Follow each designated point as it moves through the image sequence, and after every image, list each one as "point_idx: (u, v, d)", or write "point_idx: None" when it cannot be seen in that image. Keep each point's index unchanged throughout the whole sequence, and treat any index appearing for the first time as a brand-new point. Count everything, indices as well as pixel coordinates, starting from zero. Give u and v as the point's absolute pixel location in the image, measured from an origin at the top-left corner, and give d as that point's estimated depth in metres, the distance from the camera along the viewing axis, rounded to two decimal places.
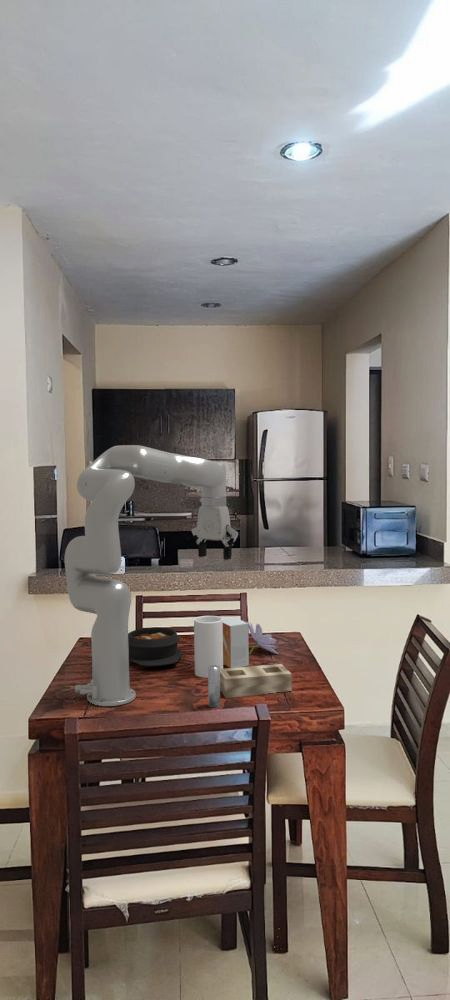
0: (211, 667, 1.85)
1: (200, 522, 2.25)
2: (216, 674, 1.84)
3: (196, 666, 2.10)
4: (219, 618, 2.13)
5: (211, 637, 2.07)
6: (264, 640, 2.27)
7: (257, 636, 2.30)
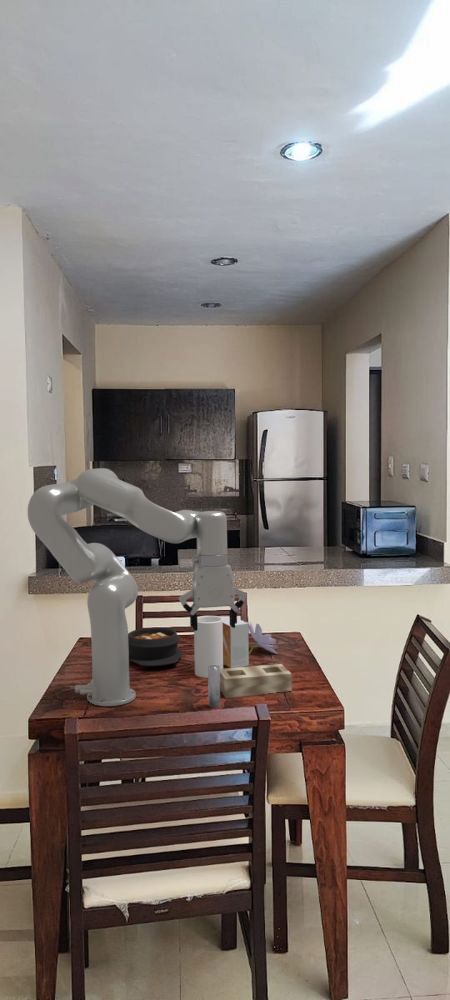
0: (211, 667, 1.85)
1: (202, 587, 1.80)
2: (216, 674, 1.84)
3: (196, 666, 2.10)
4: (219, 618, 2.13)
5: (211, 637, 2.07)
6: (263, 640, 2.27)
7: (257, 636, 2.30)
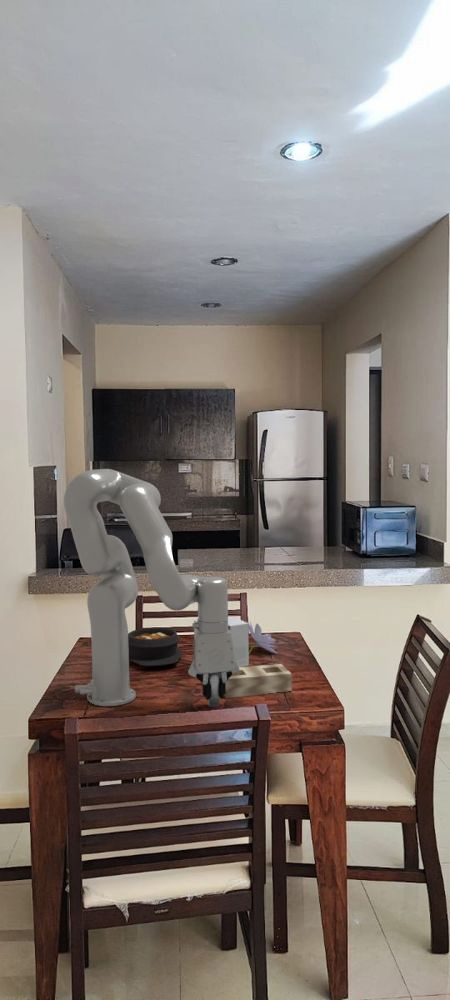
0: None
1: (202, 654, 1.82)
2: (216, 674, 1.84)
3: None
4: None
5: None
6: (263, 640, 2.27)
7: (256, 636, 2.30)
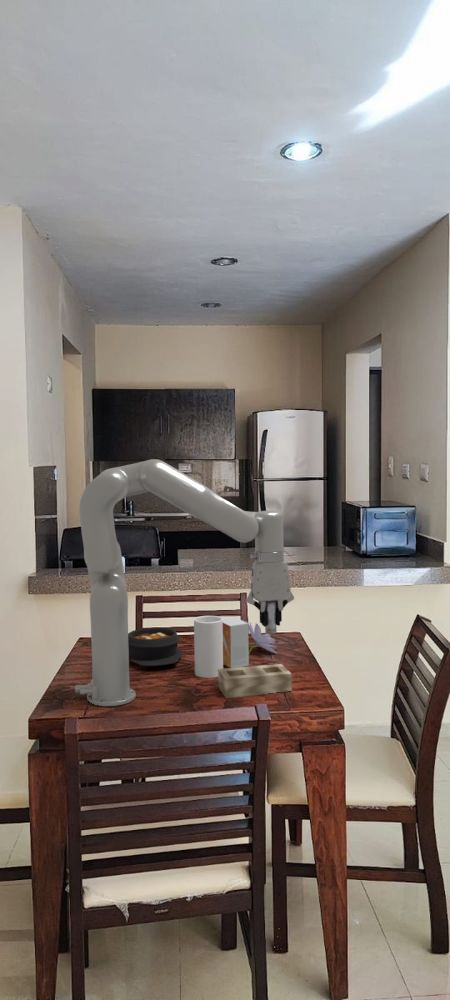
0: None
1: (260, 582, 1.93)
2: (272, 602, 1.95)
3: (196, 666, 2.10)
4: (219, 618, 2.13)
5: (211, 637, 2.07)
6: (262, 640, 2.28)
7: (256, 635, 2.30)
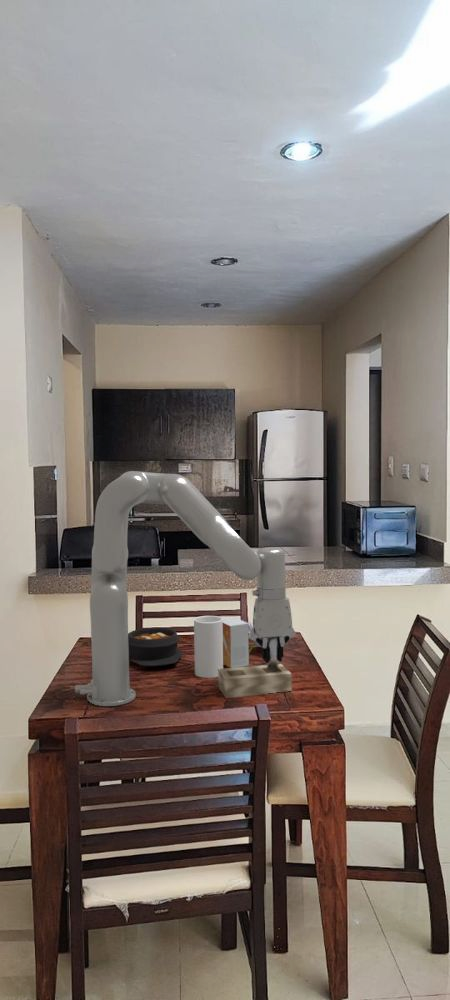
0: None
1: (262, 619, 1.94)
2: (274, 638, 1.96)
3: (196, 666, 2.10)
4: (219, 618, 2.13)
5: (211, 637, 2.07)
6: None
7: (256, 635, 2.30)
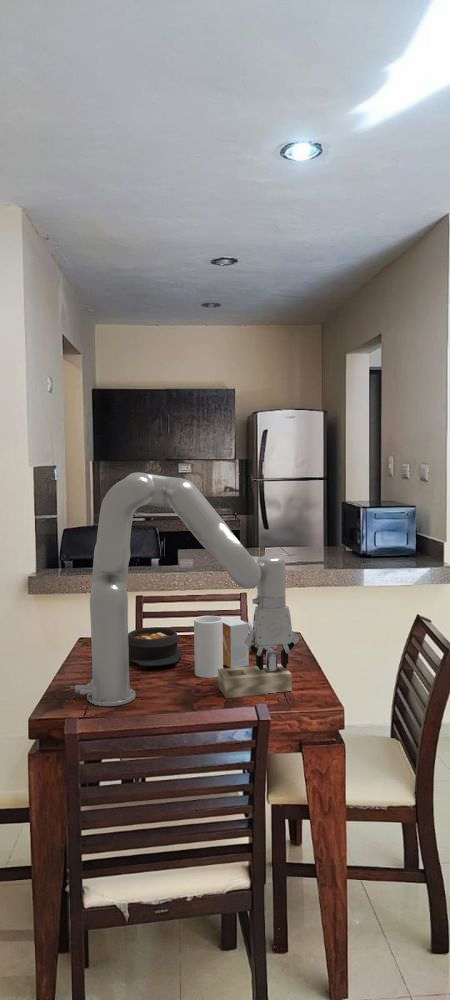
0: (269, 652, 1.98)
1: (262, 627, 1.94)
2: (274, 658, 1.97)
3: (196, 666, 2.10)
4: (219, 618, 2.13)
5: (211, 637, 2.07)
6: None
7: None
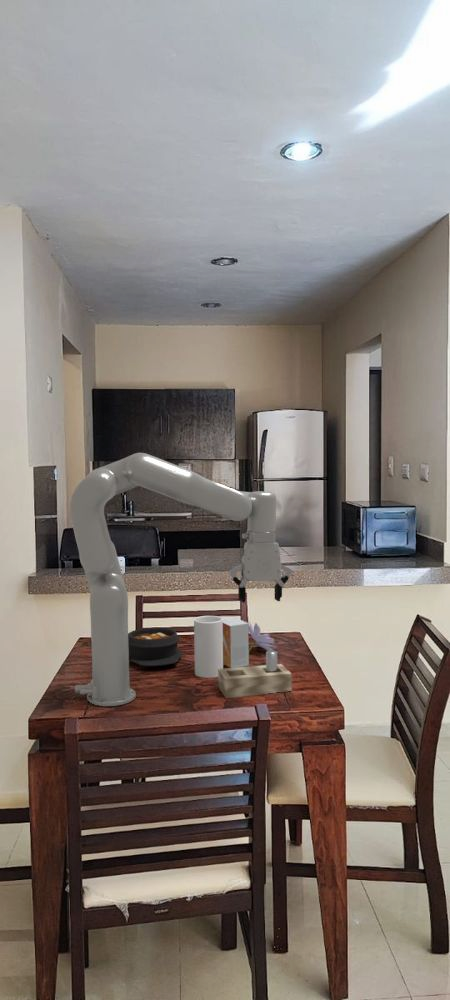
0: (269, 652, 1.98)
1: (251, 562, 1.93)
2: (274, 659, 1.97)
3: (196, 666, 2.10)
4: (219, 618, 2.13)
5: (211, 637, 2.07)
6: (261, 639, 2.28)
7: (255, 635, 2.31)
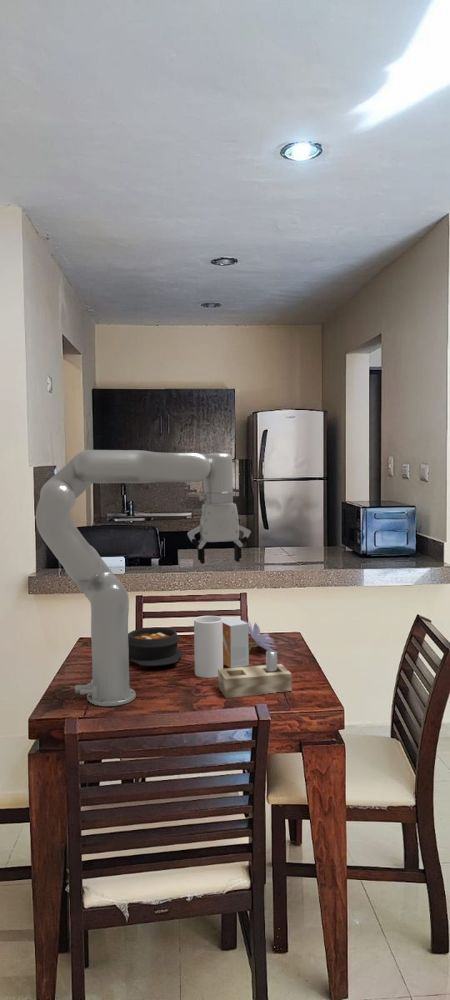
0: (269, 652, 1.98)
1: (209, 523, 1.94)
2: (274, 658, 1.97)
3: (196, 666, 2.10)
4: (219, 618, 2.13)
5: (211, 637, 2.07)
6: (261, 639, 2.28)
7: (255, 635, 2.31)
